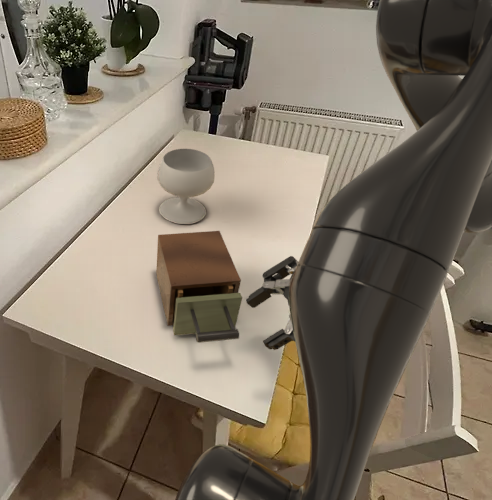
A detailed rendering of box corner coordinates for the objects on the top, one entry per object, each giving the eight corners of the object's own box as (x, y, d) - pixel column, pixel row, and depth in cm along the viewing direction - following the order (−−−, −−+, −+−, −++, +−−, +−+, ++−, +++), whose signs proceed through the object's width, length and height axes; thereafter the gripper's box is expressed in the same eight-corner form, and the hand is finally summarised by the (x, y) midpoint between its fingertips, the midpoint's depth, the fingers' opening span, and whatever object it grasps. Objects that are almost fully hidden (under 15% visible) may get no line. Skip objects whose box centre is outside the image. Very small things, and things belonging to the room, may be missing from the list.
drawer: (245, 360, 76) (255, 327, 70) (181, 366, 75) (185, 334, 69) (216, 280, 91) (221, 247, 85) (162, 284, 90) (164, 252, 84)
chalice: (147, 201, 115) (149, 150, 105) (195, 192, 119) (200, 142, 109) (168, 232, 105) (171, 178, 95) (218, 221, 109) (227, 169, 99)
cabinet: (232, 320, 84) (241, 280, 77) (167, 325, 83) (171, 286, 76) (213, 269, 95) (219, 230, 88) (156, 273, 94) (158, 234, 87)
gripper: (315, 223, 66) (231, 282, 72) (362, 289, 55) (259, 352, 61) (336, 247, 70) (255, 301, 76) (385, 313, 59) (286, 370, 65)
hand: (257, 324), depth 68 cm, fingers open, 8 cm apart
